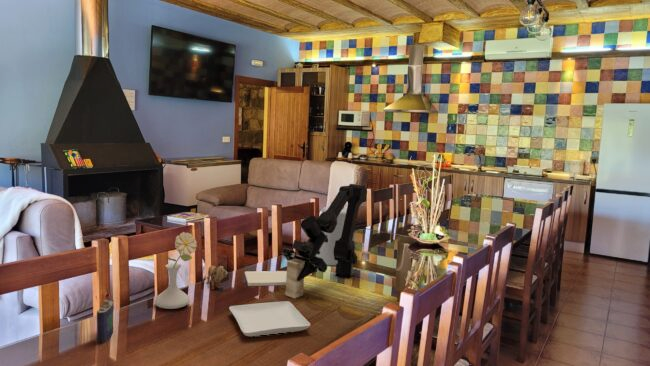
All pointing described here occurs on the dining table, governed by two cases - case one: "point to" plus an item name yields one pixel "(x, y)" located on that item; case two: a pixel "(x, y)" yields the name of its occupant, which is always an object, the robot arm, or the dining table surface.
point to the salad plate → (268, 318)
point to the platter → (265, 278)
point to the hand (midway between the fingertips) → (292, 278)
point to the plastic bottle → (332, 239)
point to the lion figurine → (216, 275)
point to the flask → (105, 322)
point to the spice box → (294, 278)
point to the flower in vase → (173, 294)
